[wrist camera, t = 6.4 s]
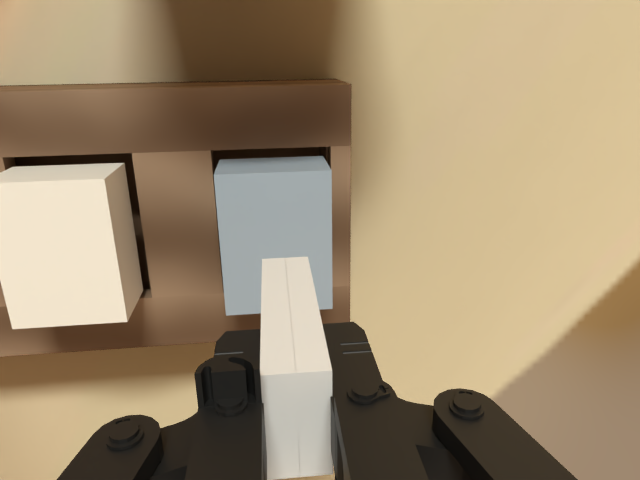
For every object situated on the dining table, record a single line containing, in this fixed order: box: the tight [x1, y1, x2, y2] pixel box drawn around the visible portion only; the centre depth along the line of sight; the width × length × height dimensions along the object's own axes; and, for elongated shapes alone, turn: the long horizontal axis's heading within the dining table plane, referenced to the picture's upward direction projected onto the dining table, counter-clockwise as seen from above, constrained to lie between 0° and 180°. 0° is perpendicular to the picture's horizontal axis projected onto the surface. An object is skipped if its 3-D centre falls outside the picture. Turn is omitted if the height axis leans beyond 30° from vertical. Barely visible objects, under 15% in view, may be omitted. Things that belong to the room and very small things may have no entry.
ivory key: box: [0, 163, 143, 329], centre depth 21 cm, size 6×4×3 cm
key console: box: [0, 79, 351, 357], centre depth 25 cm, size 12×24×5 cm, turn 91°
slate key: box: [214, 156, 333, 316], centre depth 22 cm, size 6×4×3 cm
